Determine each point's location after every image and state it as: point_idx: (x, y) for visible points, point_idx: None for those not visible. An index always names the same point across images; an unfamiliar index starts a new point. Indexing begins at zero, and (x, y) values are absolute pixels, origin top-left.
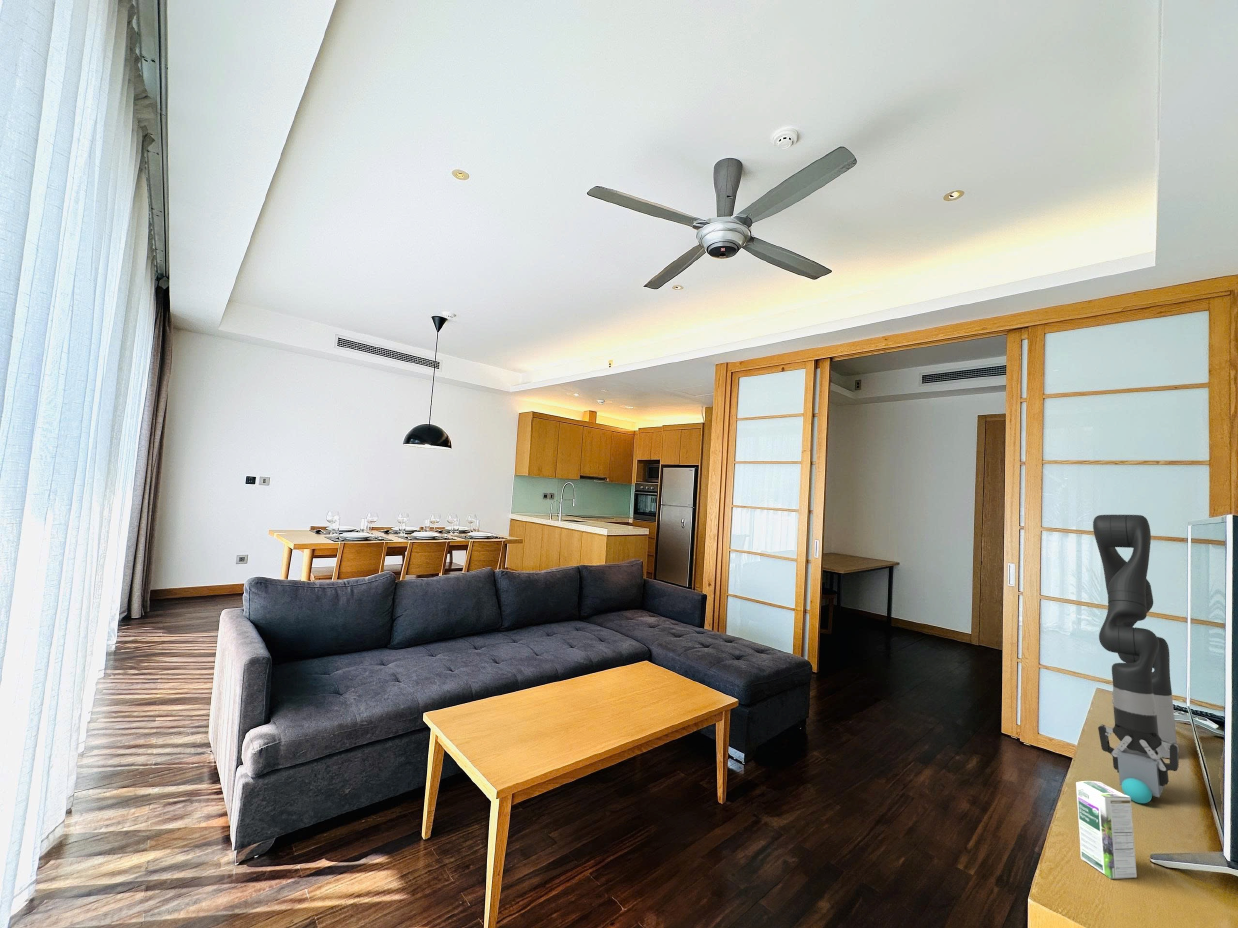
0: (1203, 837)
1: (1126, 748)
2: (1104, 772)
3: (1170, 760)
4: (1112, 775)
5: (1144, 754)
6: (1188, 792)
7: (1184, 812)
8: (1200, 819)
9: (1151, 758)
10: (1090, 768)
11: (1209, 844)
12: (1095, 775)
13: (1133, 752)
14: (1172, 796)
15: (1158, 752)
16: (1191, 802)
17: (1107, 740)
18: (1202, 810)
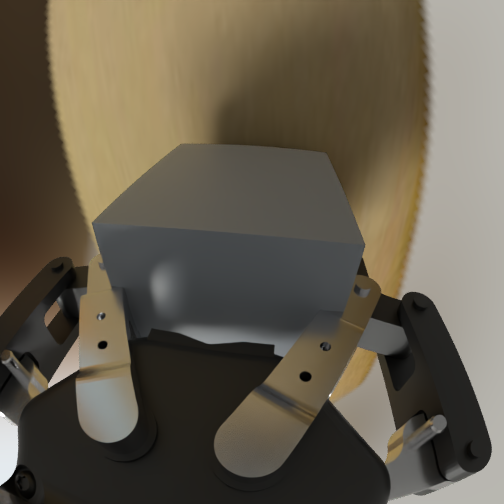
0: (369, 354)
1: (121, 241)
2: (113, 78)
3: (390, 391)
4: (138, 80)
5: (249, 280)
6: (397, 12)
7: (367, 251)
8: (396, 267)
9: (296, 325)
10: (76, 90)
11: (369, 369)
12: (104, 150)
13: (181, 294)
14: (348, 115)
15: (353, 348)
16: (404, 126)
17: (52, 337)
18: (422, 183)
